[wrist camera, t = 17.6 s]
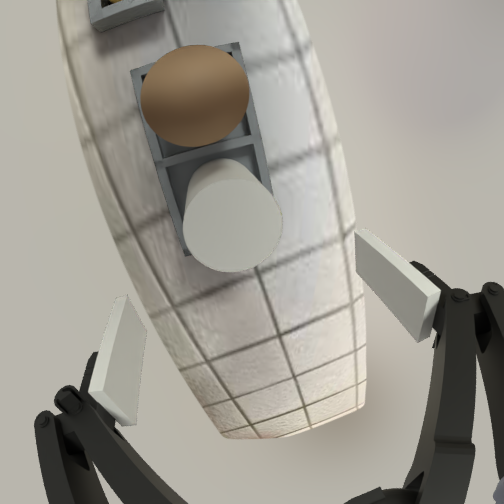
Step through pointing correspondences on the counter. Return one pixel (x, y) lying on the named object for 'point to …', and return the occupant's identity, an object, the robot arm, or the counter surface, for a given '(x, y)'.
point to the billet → (194, 95)
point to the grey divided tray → (203, 150)
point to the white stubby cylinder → (230, 217)
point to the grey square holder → (120, 12)
